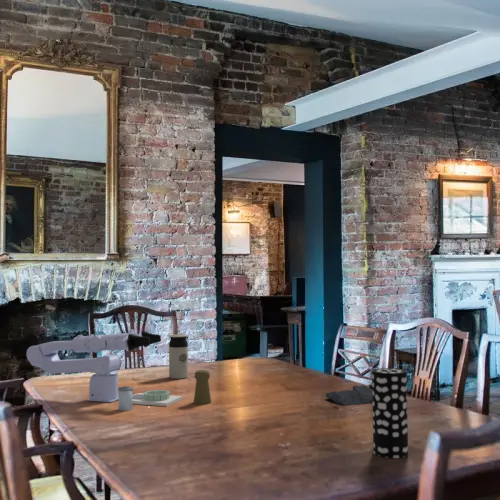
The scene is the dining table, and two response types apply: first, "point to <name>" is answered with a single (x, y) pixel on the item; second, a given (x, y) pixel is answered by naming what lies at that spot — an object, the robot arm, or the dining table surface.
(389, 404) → the white-spotted black cylinder
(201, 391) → the cork
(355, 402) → the dark slate chunk
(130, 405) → the tube
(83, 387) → the dining table surface
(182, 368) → the travel mug
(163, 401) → the white base plate
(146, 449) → the dining table surface
